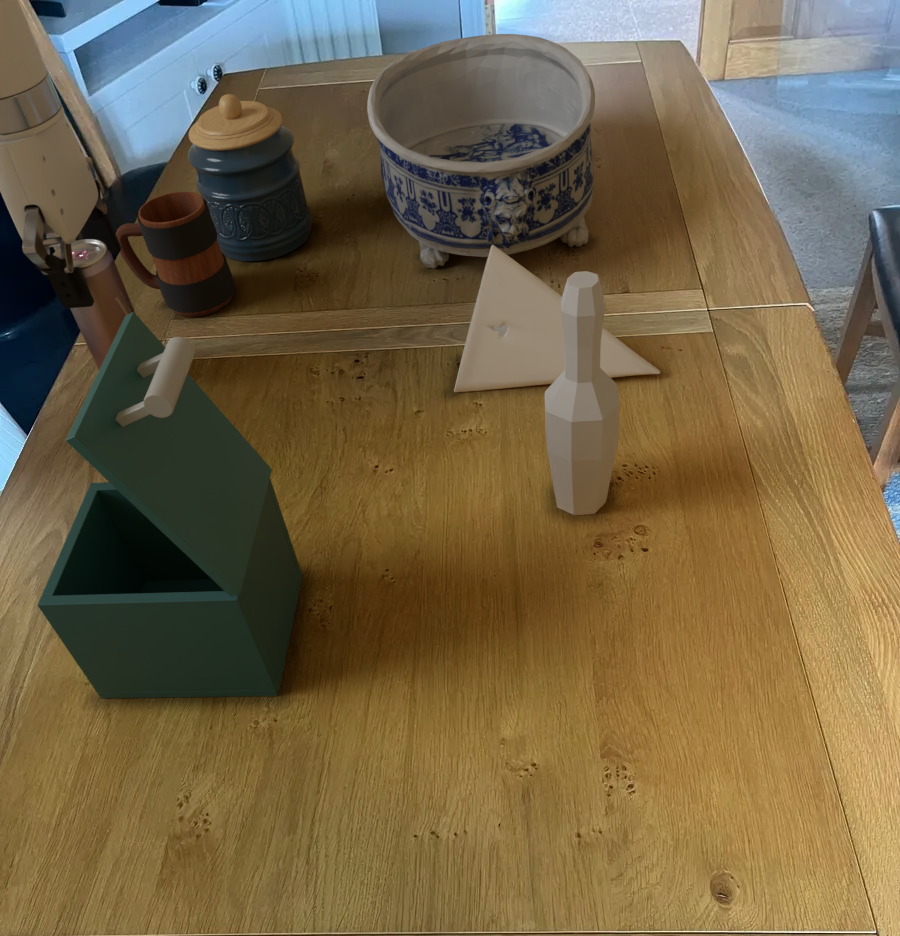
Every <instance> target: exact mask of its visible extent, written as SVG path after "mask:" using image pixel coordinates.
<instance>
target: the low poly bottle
mask: <svg viewBox="0 0 900 936" xmlns="http://www.w3.org/2000/svg"><path fill="white" fill-rule="evenodd" d="M561 296H562V298H561V311H562V320H563V329H564V360H565V370H564V371H563V372H562V373H561V374H560V376H559V377H558V378H557V379H556V380H555V381H554V382H553V383H552V384H550V385H549V387H548V388H547V389H546V390H545V391H544V423H545V426H544V427H545V442H546V454H547V459H548V464H549V470H550V475H551V482H552V486H553V492H554V498H555V502H556V503H555V504H556V508H558V509H560V510H562V511H565V512H567V513H569V514H571V515H572V516H581V515H582V516H583V515H596V513H597V512H598V511H599V510H601V508H602V507H603V506H604V505H605V504H606V503H607V500H608V499H607V498H608V493H609V489H610V484H611V480H612V475H613V469H614V464H615V460H616V454H617V450H618V447H619V446H618V445H619V433H620V430H619V429H620V413H621V412H620V410H621V401H620V394H619V389H618V388H619V387H618V383H617V382H615V380H613V378H610V377H609V376H608V375H607V374H606V373H605V372H604V371H603V370H602V369H601V368H600V351H601V335H602V328H604V319H605V313H606V300H605V296H604V291H603V288H602V285H601V282H600V277H599V274H598V273H594V272H591V271H588V270H586V271H585V270H584V271H575V272H573V273H572V274H571V275H569V276H568V277H567V280H566V282H565V285H564V289H563V292H562V294H561Z"/></svg>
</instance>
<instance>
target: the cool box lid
mask: <svg viewBox="0 0 900 936" xmlns="http://www.w3.org/2000/svg"><path fill="white" fill-rule="evenodd" d="M135 313H136V311H135V312H132V313H130V314H128V315H126V316H125V318H124V320H123V322H122V324H121V326H120V328H119V330H118V332H117V334H116V336H115V338H114V340H113V342H112V345H111V347H110V349H109V351H108V353H107V355H106V357H105V359H104V361H103V363H102V365H101V367H100V369H99V370H98V372H97V373H96V376H95V378H94V379H93V382H92V384H91V386H90V388H89V390H88V392H87V394H86V396H85V398H84V401H83V403H82V404H81V407H80V409H79V411H78V413H77V415H76V416H75V419H74V421H73V423H72V426H71V427H70V430H69V432H68V434H67V436H66V438H65V442H66V443H67V444H68V445H69V446H70V447H71V448H72V449H73V450H74V451H76V452H77V453H78V454H79V455H80V457H82V458H83V459H84V460H85V461H86V462H87V463H88V464H89V465H90V466H91V467H92V468H93V469H95V470H96V471H97V472H98V474H100V475H101V476H102V477H103V478H104V479H105V480H106V481H107V482H110V483H111V484H112V485H113V486H114V487H115V488H116V489H117V490H118V491H119V492H120V493H121V494H122V495H123V496H125V497H126V498H127V499H128V500H129V501H130V502H131V503H132V504H133V505H134V506H135V507H136V508H137V509H138V510H139V511H140V512H141V513H143V514H144V515H145V516H146V517H147V518H148V519H149V520H150V521H151V522H152V523H153V524H154V525H155V526H156V527H157V528H158V529H160V530H161V531H162V532H163V533H164V534H165V535H166V536H167V537H168V538H169V539H170V540H171V541H172V542H173V543H174V544H175V545H177V546H178V547H179V548H180V549H181V550H182V551H183V552H184V553H185V554H186V555H187V556H188V557H189V558H190V559H191V560H192V561H193V562H195V563H196V564H197V565H198V566H199V567H200V568H201V569H202V570H203V571H204V572H205V573H206V574H207V575H208V576H209V577H210V578H212V579H213V580H214V581H215V582H216V583H217V584H218V585H219V586H220V587H221V588H222V589H223V590H224V591H225V592H226V593H227V594H228V595H230V596H231V597H233V596H236V595H239V594H240V592H241V588H242V584H243V580H244V577H245V573H246V569H247V565H248V561H249V557H250V553H251V549H252V545H253V542H254V538H255V534H256V530H257V526H258V522H259V518H260V514H261V511H262V507H263V503H264V499H265V495H266V491H267V487H268V483H269V479H271V475H272V471H273V468H272V467H271V465H269V464H268V463H267V462H266V461H265V460H264V458H263V457H262V456H261V455H260V454H259V452H257V450H256V449H255V448H254V447H253V446H252V444H251V443H250V442H249V441H248V440H247V439H246V437H245V436H244V435H243V434H242V433H241V431H239V430H238V429H237V428H236V426H235V425H234V424H233V423H232V422H231V421H230V420H229V418H228V417H227V416H226V415H225V413H223V412H222V410H221V409H220V408H219V407H218V406H217V405H216V404H215V402H214V401H213V400H212V399H211V398H210V397H209V396H208V394H207V393H206V392H205V391H204V389H202V388H201V386H199V384H198V383H197V382H196V380H194V378H193V377H192V376H191V375H190V374H189V371H190V368H191V365H192V363H193V361H194V358H195V355H196V349H195V346H194V344H193V343H192V342H191V340H189V339H188V338H185V337H182V336H174V337H171V338H170V339H169V340H168V341H167V342H166V345H164V344H163V343H162V342H161V341H160V340H159V338H158V337H157V336H156V334H154V333H153V332H152V331H151V329H150V328H149V327H148V326H147V325H146V323H144V321H143V319H141V318H140V317H139V316H138V314H135Z"/></svg>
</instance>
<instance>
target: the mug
mask: <svg viewBox="0 0 900 936" xmlns="http://www.w3.org/2000/svg"><path fill="white" fill-rule="evenodd" d="M137 213H138V214H137V222H136V223H132V222H131V223H130V222H129V223H124V224H122V225H120V226H119V227H118V228H117V229H116V232H115V234H116V236H117V239H118V241H119V243H120V246H121V251H120V252H119V254H120V255H121V257H122V259H123V261H124V262H125V263H126V265H127V267H128V268H129V269H130V270H131V272H132V273H133V274H134V275H135V276H136V278H137V279H138V280H140V282H142V283H143V284H144V285H146V286H147V287H149V288H152V289H154V290H159V291H160V293H161V296H162V298H163V301H164V303H165V305H166V306H167V308H169V310H172V312H174V313H175V314H176V315H178V316H183V317H188V318H189V317H190V318H196V317H202V316H204V317H205V316H208V315H211V314H213V313H216V312H218V311H220V310H222V309H223V308H224V307H226V306H227V305H228V304H229V303H230V302H231V301H232V299H233V296H234V292H235V289H236V284H235V280H234V277H233V274H232V271H231V269H230V266H229V264H228V260H227V257H226V256H225V255H224V254H223V253H222V252H221V250H220V247H219V244H218V241H217V231H216V229H215V226H214V223H213V220H212V218H211V215H210V212H209V208H208V205H207V202H206V201H205V199H203V198H202V196H201V194H199V193H196V192H192V191H174V192H168V193H164V194H161V195H158V196H155V197H153V198H151V199H150V200H148V201H146V202H144V203H143V204H142V205H141V206H140V208H139V210H138V212H137ZM129 237H143V240H144V242H145V243H144V244H145V246H146V248H147V250H148V253H149V254H150V255H151V258H152V261H153V263H154V266H155V269H156V270H155V274H154V273H152V272H151V271H150V270H149V269H147V267H146V265H144V264H143V262H142V261H141V260H140V259H139V257H138V255H137V254H136V252H135V251H134V248H133V247H132V245H131V243H130V240H129Z"/></svg>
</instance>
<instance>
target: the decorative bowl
mask: <svg viewBox="0 0 900 936" xmlns="http://www.w3.org/2000/svg"><path fill="white" fill-rule="evenodd" d="M366 105H367V106H366V111H367V117H368V122H369V125H370V128H371V130H372V132H373V134H374V136H375V137H376V139H377V142H378V147H379V157H380V159H379V160H380V174H381V179H382V184H383V189H384V192H385V195H386V197H387V199H388V202H389V205H390V207H391V210H392V212H393V214H394V216H395V218H396V219H397V221H398V222H399V223H400V225H401V226H402V227H403V228H404V229H405V230H406V232H407V233H408V234H409V235H410V236H411V237H412V238H414V239H415V240H417V241H418V244H419V249H420V253H419V259H420V260H421V262H422V264H423V265H424V267H426V268H427V269H429V268H431V269H437V268H438V267H439V266H442V267H443V266H445V264H446V262H448V261H449V257H450V254H452V255H458V256H465V257H466V256H467V257H480V258H488V255H489V252H490V249H491V246H492V245H494V246H496V247H497V248H498V249H500V250H501V251H502V252H504V253H505V254H506V255H508V256H509V255H513V254H517V253H521V252H526V251H530V250H533V249H536V248H538V247H541V246H545V245H546V244H549V243H551V242H552V241H553V242H554V241H555V240H557V239H558V238H560V240H561V243H563V244H564V243H565V244H567V245H568V247H569V248H572V247H574V246H575V247H577V248H581V246H582V245H583V246H585V245H586V244H587V243H588V242H589V234H590V232H589V229H588V226H587V224H586V219H585V216H586V214H587V213H588V211H589V209H590V208H591V205H592V200H593V195H594V194H593V193H594V188H595V170H594V169H595V168H594V160H593V159H594V158H593V149H592V137H591V131H592V128H591V123H592V122H591V121H592V119H593V117H594V113H595V108H596V91H595V87H594V83H593V79H592V78H591V76H590V74H589V71H588V69H587V68H586V66H585V65H584V63H583V62H582V60H580V59H579V58H578V57H577V56H576V55H575V54H574V53H573V52H571V51H570V50H569V49H568V48H566V47H564V46H563V45H561V44H559V43H557V42H554V41H551V40H548V39H546V38H543V37H540V36H533V35H527V34H520V33H519V34H518V33H494V34H493V33H492V34H482V35H481V34H480V35H474V36H467V37H461V38H456V39H450V40H445V41H442V42H438V43H435V44H431V45H429V46H426V47H422V48H419V49H417V50H416V49H415V50H412V51H410V52H408V53H406V54H405V55H402V56H400V57H398V58H396V59H395V60H393V61H392V62H391V63H389V64H388V65H387V66H386V67H384V68H383V69H382V70H381V71H380V72H379V73H378V74H377V75H376V77H375V79H374V80H373V82H372V84H371V86H370V88H369V91H368V96H367V104H366Z"/></svg>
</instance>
